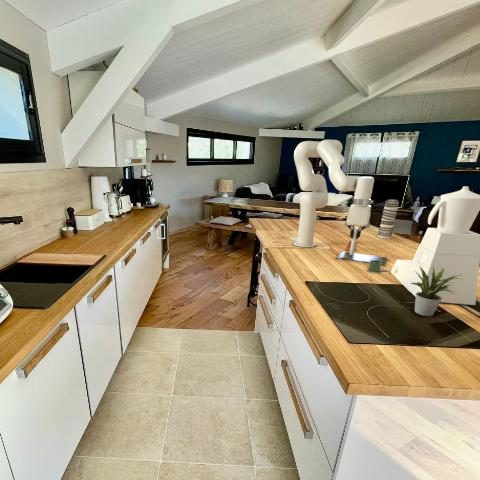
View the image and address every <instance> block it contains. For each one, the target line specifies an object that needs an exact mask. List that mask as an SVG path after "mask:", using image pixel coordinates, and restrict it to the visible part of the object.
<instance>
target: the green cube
mask: <svg viewBox="0 0 480 480" xmlns="http://www.w3.org/2000/svg"><path fill="white" fill-rule="evenodd" d="M381 263H382V262H381V261H377V260H371V261H370V263H368V270H367V271H368V272H371V273H380V271H381V267H382V265H381Z"/></svg>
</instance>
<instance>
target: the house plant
mask: <svg viewBox="0 0 480 480" xmlns="http://www.w3.org/2000/svg"><path fill="white" fill-rule="evenodd" d="M420 269H421V272H422V276H423V279H422V277H421V276H420V275H419V274H418V273H417V272H416V273H417V274H418V276H419V277H420V279H421V280H422V283H420V282H417V283H410V284H414V285H417V286H419V287H420V288H421V290H422V292H417V293H416V297H415V299H414V300H415V301H414V312H415V313H416V314H418V315H420V316H425V317H433V316H434V314H435V312H436V310H437V308H438V307H439V305H440V303H441V302H440V301H441V300H442V298H441V297H440V296H438V295H436V293H438V292H439V291H444V290H445V289H447V288H448V287H447V286H449V285H444V284H445V283H446V282H447V283H452V282H448V281H450V280H452V279H459V278H454V277H457V276H462V275H456V276H452V277H449V278H447V279H443V280H440V278H441V277H442V274H443V272H444V267H443V269H442V270H441V271H440V272H439V273H438V274H437V275H436V276H435V270H434V267H433V273H431V274H432V280H431V285H430V287H429V277H428V275H426V273H425V271H424V270H423V269H422V268H421V267H420ZM462 280H463V279H462ZM439 281H442V282H441V283H439V284H437V283H438V282H439ZM436 284H437V285H436ZM442 285H443V286H442ZM441 286H442V287H441ZM436 288H437V289H436ZM435 289H436V290H435ZM443 289H444V290H443ZM449 289H450V288H449ZM445 291H447V292H448V291H449V292H451V293H453V292H455V291H453V292H452V291H450V290H445ZM439 295H440V294H439Z"/></svg>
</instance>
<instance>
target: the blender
mask: <svg viewBox="0 0 480 480" xmlns="http://www.w3.org/2000/svg"><path fill="white" fill-rule="evenodd" d="M439 200H440V201H438V202H437V203H436V204H435V205H434V207H432V210H431V211H430V213H429V215H428V216H427V217H428V218H427V224H428V225H431V224H432V221H433V220H434V217H435V216H436V214H437V212H438V218H437V227H427V229H426V231H425V233H424V236H423V237H422V240H421V242H420V244H419V245H418V248H417V249H416V252H415V253H414V255H413V258H412V259H396V261H395V262H394V264H393V266H392V267H391V269H390V271H389V272H390V273H391V274H392V276H393V277H394V278H395V279H397V280H398V282H400V284H401V285H402V286H404V288H406V289H407V290H408V292H409V293H411V294H412V295H413V296H414V297H415V298H416V293H417V292H422V290H421V288H420V287H419V286H417V285H414V284H410V283H417V282H420V283H422V280H421V279H420V277H419V276H418V274H419V275H420V276H421V277H422V279H423V276H422V272H421V269H420V267H421V268H422V269H423V270H424V271H425V273H426V275H428V277H429V287H430V285H431V280H432V274H431V273H433V267H434V270H435V276H436V275H437V274H438V273H439V272H440V271H441V270H442V269H443V267H444V272H443V274H442V277H441V278H440V280H443V279H447V278H449V277H452V276H456V275H462V276H457V277H454V278H459V279H452V280H450V281H448V282H452V283H447V282H446V283H445V284H444V285H449V286H447V287H448V288H447V289H445V290H450V291H452V292H453V291H455V292H453V293H451V292H449V291H448V292H447V291H445V290H444V289H443V290H444V291H439V292H438V293H436V295H438V296H440V297H441V298H442V300H441V301H440V303H446V304H457V305H469V306H476V304H477V303H476V301H477V292H478V284H479V275H480V234H479V233H477V232H474V231H471V230H470V229H471V227H472V225H473V223H474V221H475V220H476V218H477V216H478V214H479V212H480V194H478V193H475V192H473V191H471V190H470V188H469V186H466V185H465V186H462V188H461V189H460V190H456V191H454V192H449V193H445V194H441V195H440V199H439ZM416 272H417V273H418V274H417V273H416ZM462 279H463V280H462ZM441 282H442V281H439V282H438V283H437V284H439V283H441ZM437 284H436V285H437ZM442 286H443V285H442ZM442 286H441V287H442ZM449 288H450V289H449ZM436 289H437V288H436ZM436 289H435V290H436ZM439 294H440V295H439Z"/></svg>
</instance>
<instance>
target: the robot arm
mask: <svg viewBox="0 0 480 480" xmlns="http://www.w3.org/2000/svg"><path fill="white" fill-rule="evenodd" d="M342 151H343V144H342V143H341V141H340V140H337V139H323V140H321V141H313V140H305V141H302V142H299V144H297V146H296V148H295V149H294V153H293V160H294V164H295V167H296V173H297V179H298V185H299V187H300V189H301V191H303V192H306V193H304V194H303V195H302V196H301V197H300V200H299V206H300V212H299V221H298V230H297V236H295V237H294V236H290V241H292V242H293V245H294V246H296V247H299V248H314V247H316V243H315V242H314V238H315V231H316V224H317V218H318V217H317V211H316V209H322V208H325V207H326V206H327V205H328V203H329V193H328V188H327V182H326V179H325V177H324V176H323V175H322V174H320V173H315V172H314V169H313V165H312V162H311V161H310V160H309V158H320V159H321V160H322V161H323V163H324V164H325V165H326V167H327V168H328V178H329V181H330V182H331V183H332V185H333V186H334V188H335V189H336V190H338V191H339V192H354V196H353V200H352V204H350V207H349V210H348V212H347V213H348V214H347V218H346V220H345V222H344V224H343V225H344V226H345V227H347V228H348V229H349V231H350V232H349V237H350V239H352V238H353V233H354V227H355V226H358V228H359V229H358V232H357V236H356V240H359V238H361V233H362V232H363V230H366V229H369V228H371V223H370V219H371V212H372V206H371V204H374V200H372V199H371V197H372V193H373V188H374V183H375V178H374V177H373V176H360V175H346V174H345V173H344V172H343V170H342V168H341V166H343V164H344V162H345V157H344V156H343V155H342Z"/></svg>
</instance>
